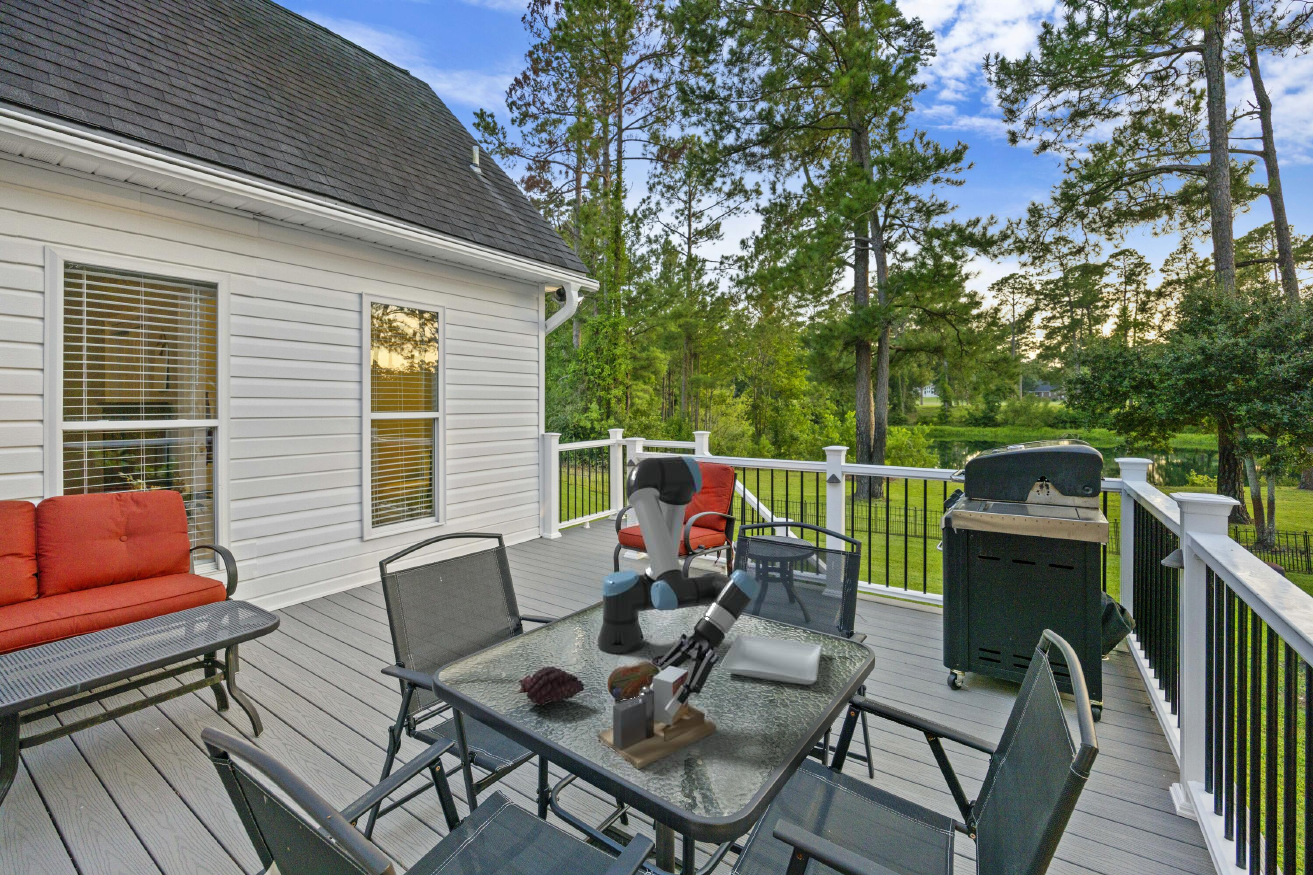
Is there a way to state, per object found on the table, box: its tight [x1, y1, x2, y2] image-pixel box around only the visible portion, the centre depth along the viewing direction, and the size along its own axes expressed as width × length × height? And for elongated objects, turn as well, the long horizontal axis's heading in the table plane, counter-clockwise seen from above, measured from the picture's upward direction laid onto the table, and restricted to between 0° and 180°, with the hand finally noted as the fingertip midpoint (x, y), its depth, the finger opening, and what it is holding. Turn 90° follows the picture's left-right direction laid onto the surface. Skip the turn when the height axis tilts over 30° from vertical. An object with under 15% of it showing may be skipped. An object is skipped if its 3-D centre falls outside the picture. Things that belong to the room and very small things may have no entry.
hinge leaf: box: [612, 686, 654, 751], centre depth 138 cm, size 4×10×11 cm, turn 130°
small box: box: [653, 666, 689, 726], centre depth 145 cm, size 8×6×10 cm
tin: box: [606, 661, 660, 702], centre depth 162 cm, size 15×3×8 cm, turn 117°
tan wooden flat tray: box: [597, 704, 717, 770], centre depth 142 cm, size 15×24×4 cm, turn 130°
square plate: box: [719, 634, 823, 685], centre depth 181 cm, size 27×27×4 cm
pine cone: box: [518, 666, 585, 707], centre depth 157 cm, size 18×10×10 cm, turn 85°
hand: (658, 704), depth 143 cm, fingers closed on small box, 8 cm apart
